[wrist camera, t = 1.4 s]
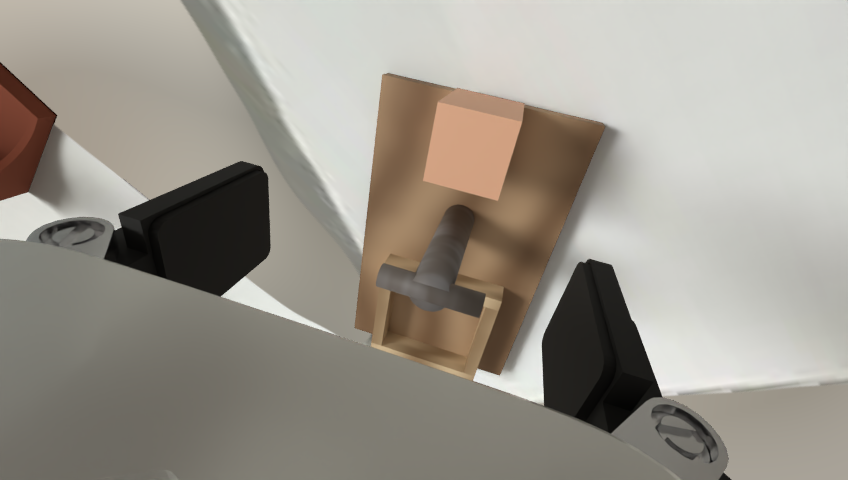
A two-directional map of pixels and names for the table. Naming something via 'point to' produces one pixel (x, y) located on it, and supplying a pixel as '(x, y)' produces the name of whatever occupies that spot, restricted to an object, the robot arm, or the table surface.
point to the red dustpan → (20, 134)
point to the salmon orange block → (473, 142)
